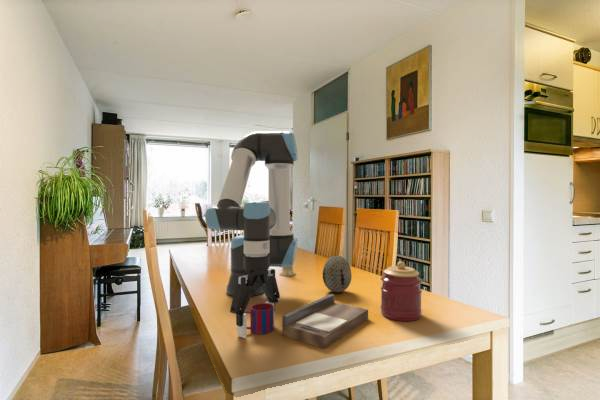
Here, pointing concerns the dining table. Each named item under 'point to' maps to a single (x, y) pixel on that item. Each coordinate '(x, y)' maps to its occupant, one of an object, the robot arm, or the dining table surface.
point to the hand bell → (287, 271)
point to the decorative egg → (337, 274)
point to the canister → (401, 293)
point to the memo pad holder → (322, 321)
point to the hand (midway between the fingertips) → (256, 330)
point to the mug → (261, 318)
